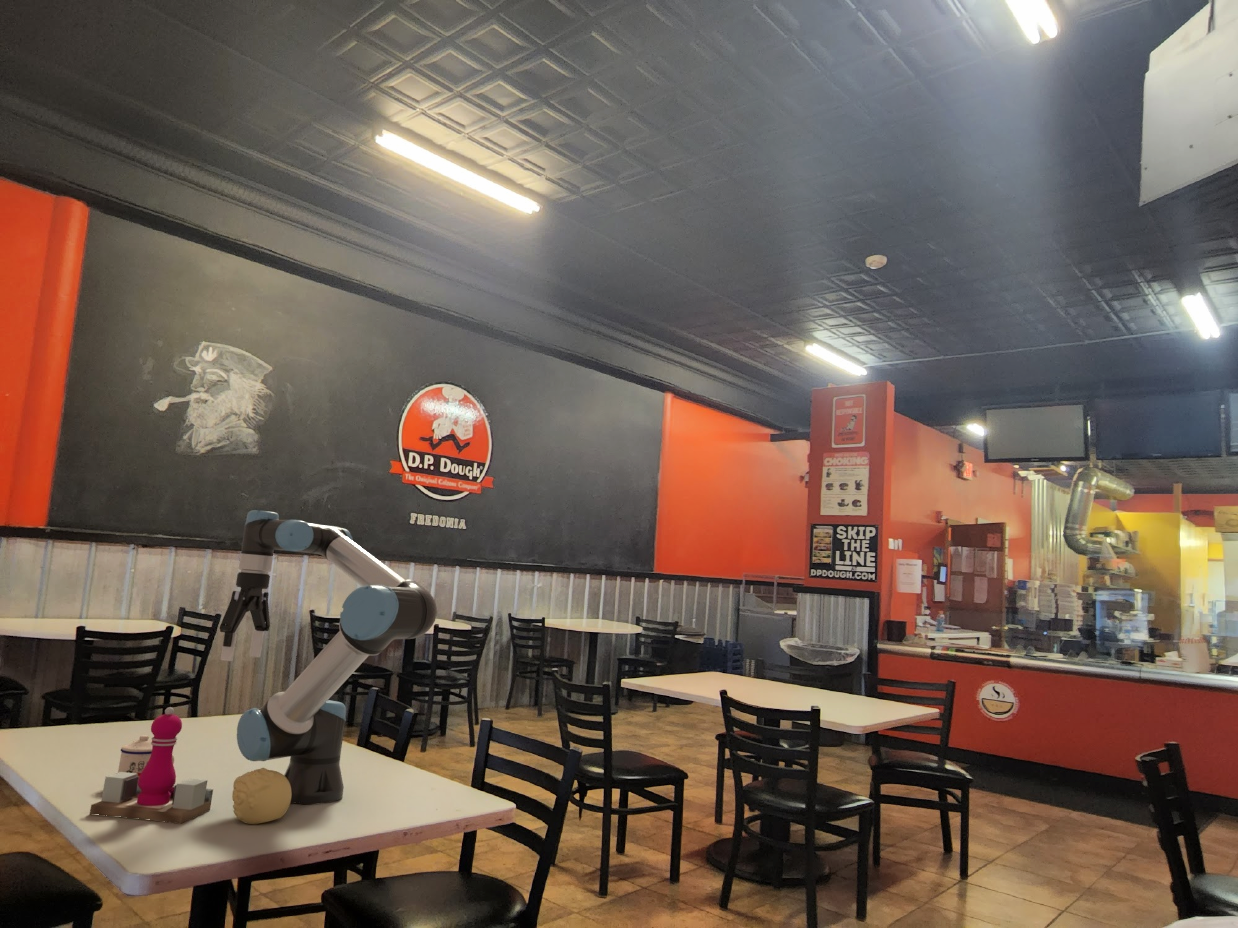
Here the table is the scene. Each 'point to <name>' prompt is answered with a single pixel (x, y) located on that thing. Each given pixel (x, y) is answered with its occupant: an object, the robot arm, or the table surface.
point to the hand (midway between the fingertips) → (241, 658)
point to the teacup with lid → (136, 756)
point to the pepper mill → (160, 761)
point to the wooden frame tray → (148, 810)
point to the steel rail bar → (207, 795)
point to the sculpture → (261, 796)
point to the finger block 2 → (189, 794)
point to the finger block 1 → (120, 787)
